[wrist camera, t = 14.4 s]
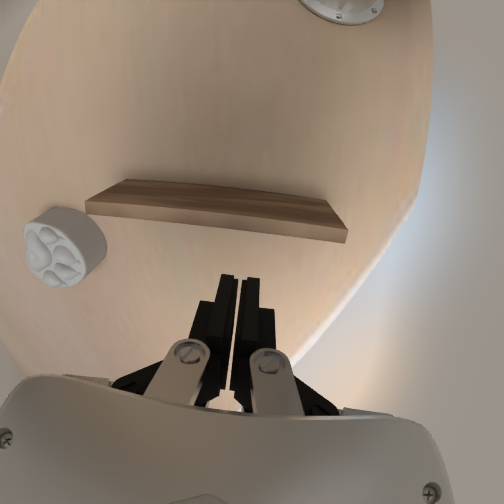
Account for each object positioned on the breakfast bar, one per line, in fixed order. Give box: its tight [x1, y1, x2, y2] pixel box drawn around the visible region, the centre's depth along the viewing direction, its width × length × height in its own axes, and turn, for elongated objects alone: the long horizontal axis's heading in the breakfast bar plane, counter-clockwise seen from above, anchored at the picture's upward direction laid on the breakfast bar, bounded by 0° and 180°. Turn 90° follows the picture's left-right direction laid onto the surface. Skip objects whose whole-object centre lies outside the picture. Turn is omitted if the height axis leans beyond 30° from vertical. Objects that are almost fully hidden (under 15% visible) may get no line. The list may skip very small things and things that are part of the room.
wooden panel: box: [85, 179, 348, 244], centre depth 33 cm, size 2×28×11 cm, turn 83°
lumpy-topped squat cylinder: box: [24, 207, 107, 288], centre depth 38 cm, size 10×13×9 cm
